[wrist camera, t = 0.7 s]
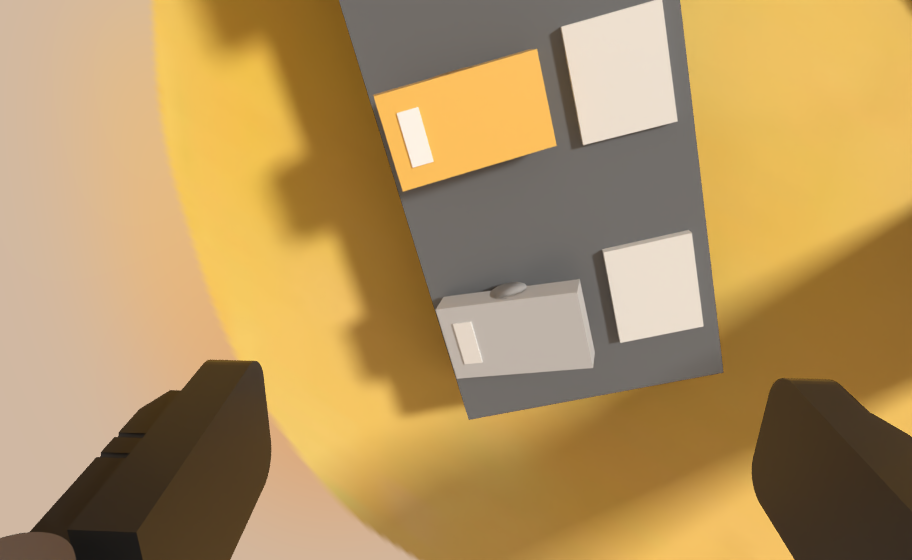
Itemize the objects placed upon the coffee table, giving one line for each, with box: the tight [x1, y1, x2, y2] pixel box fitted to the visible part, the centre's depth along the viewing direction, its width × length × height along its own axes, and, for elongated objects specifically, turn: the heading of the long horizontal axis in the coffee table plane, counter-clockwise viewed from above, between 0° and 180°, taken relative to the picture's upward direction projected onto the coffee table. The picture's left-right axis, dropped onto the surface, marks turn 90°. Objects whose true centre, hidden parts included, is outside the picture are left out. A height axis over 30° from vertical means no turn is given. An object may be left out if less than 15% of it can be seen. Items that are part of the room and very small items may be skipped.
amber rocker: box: [373, 49, 557, 191], centre depth 23 cm, size 6×4×2 cm, turn 105°
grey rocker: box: [436, 279, 595, 379], centre depth 26 cm, size 6×4×2 cm, turn 105°
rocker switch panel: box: [339, 0, 723, 420], centre depth 25 cm, size 12×28×4 cm, turn 15°
